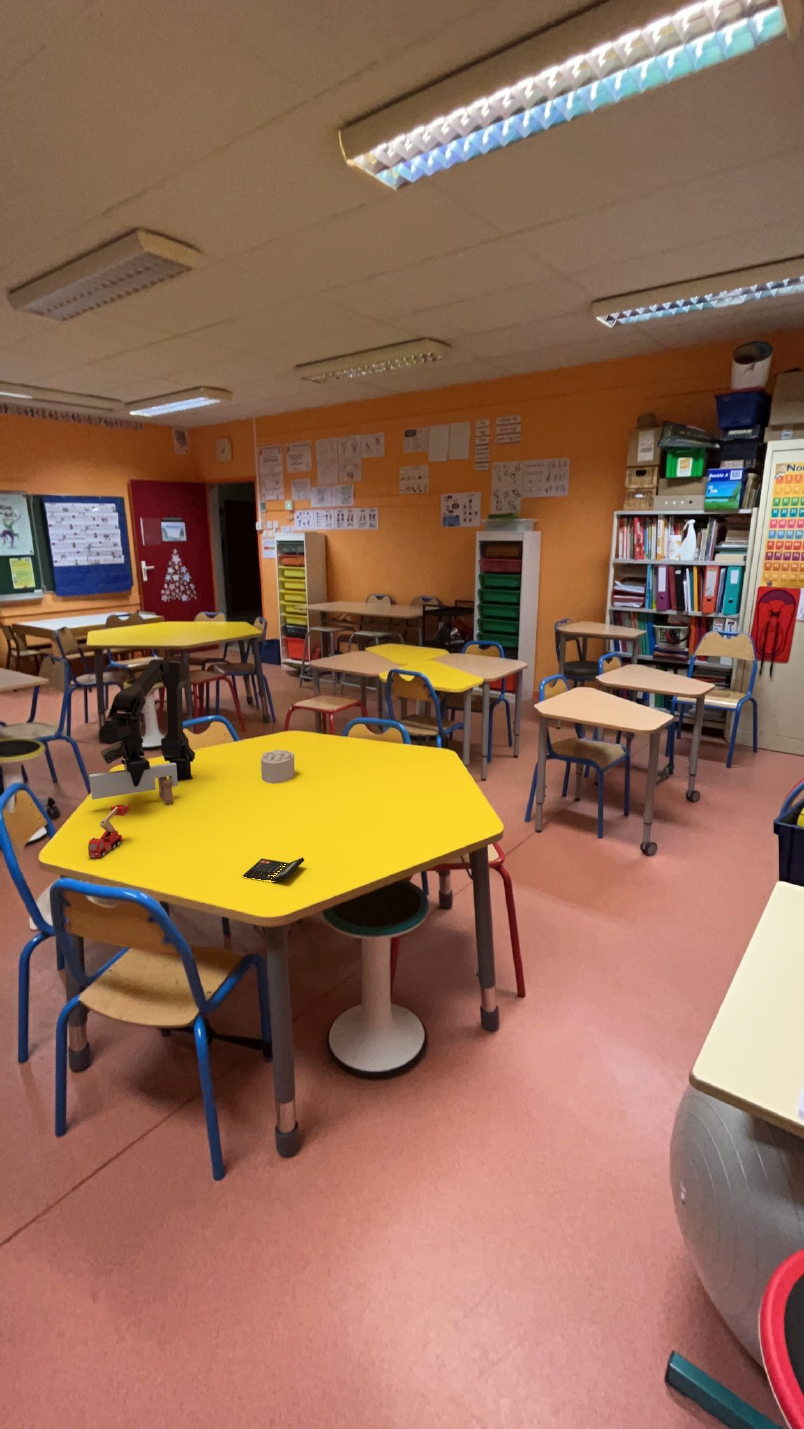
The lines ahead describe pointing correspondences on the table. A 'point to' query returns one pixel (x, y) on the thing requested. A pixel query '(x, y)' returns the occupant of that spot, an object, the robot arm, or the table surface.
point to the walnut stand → (165, 790)
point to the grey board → (129, 781)
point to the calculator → (272, 869)
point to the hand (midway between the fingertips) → (135, 785)
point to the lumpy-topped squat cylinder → (277, 766)
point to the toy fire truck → (107, 834)
